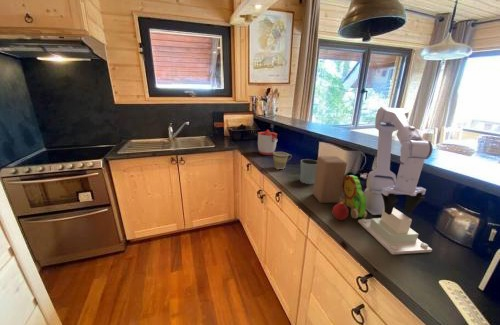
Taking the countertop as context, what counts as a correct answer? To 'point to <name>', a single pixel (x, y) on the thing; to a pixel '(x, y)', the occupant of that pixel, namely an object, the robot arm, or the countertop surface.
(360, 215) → the toy lion
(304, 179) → the grey cylindrical container
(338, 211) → the onion
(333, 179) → the block
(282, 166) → the ceramic cup
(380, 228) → the white studded slab
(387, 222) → the cream brick
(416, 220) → the countertop surface
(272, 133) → the citrus juicer
